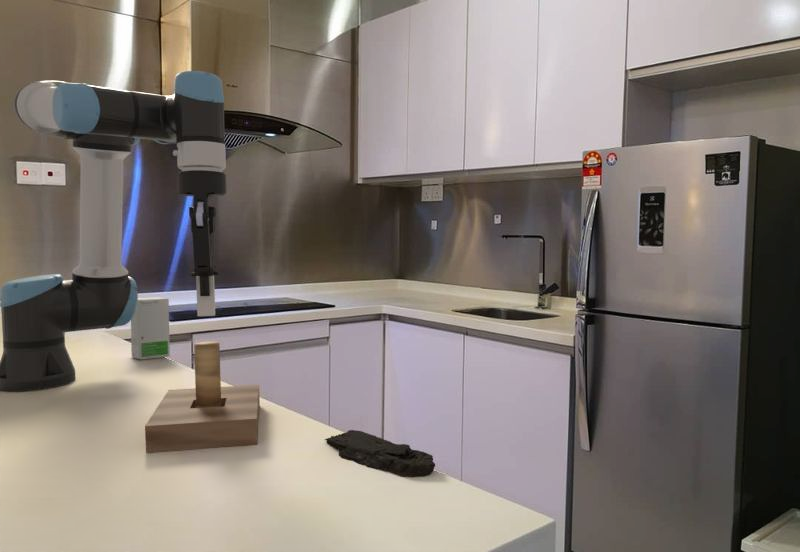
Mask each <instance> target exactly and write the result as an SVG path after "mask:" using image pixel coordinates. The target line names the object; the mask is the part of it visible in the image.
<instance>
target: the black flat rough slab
mask: <svg viewBox="0 0 800 552" xmlns="http://www.w3.org/2000/svg"><path fill="white" fill-rule="evenodd" d="M324 440H325V441H326V443H327V444H328V445H329V446H330V447H332V448H334V449H337V450H338V451H339V452H338V456H339V457H340V458H341V459H344V460H347V461H351V462H354V463H356V464H358V465H361V466H365V467H366V468H369V469H374V470H379V471H384V472H388V473H389V474H393V475H396V476H399V477H401V478H416V477H417V478H419V477H426V476H429V475H430V474H432V473H433V472H434V470H435V467H436V463H435V462H434V456H433V454H430V453H427V452H424V451H420V450H418V449H413V448H411V446H410V444H406V443H401V444H399V443H393V442H391V441H389V440H386V439H384V438H382V437H377V436H376V435H374V434H370V433H368V432H364V431H362V430H354V429H351V430H350V429H349V430H347V431H346V432H343V433H341V434H337V435H331V436H330V437H327V438H324Z"/></svg>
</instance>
